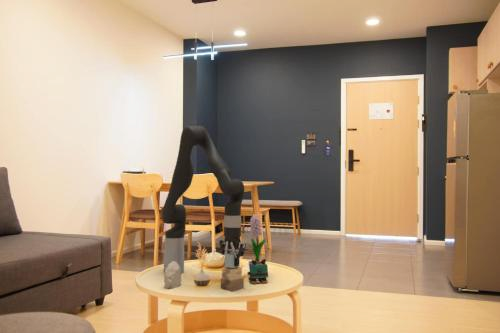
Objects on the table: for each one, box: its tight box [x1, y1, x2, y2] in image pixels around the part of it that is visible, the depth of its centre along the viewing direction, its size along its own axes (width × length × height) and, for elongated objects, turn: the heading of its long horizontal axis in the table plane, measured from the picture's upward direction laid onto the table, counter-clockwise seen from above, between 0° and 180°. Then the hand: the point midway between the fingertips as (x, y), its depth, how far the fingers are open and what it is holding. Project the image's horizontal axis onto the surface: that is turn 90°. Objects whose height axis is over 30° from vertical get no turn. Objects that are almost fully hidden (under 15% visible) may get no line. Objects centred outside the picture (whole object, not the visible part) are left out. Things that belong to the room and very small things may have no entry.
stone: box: [163, 261, 182, 290], centre depth 191 cm, size 9×5×10 cm, turn 151°
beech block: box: [221, 266, 243, 281], centre depth 189 cm, size 6×6×4 cm
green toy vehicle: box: [247, 258, 269, 285], centre depth 200 cm, size 9×11×10 cm
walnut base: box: [220, 277, 245, 292], centre depth 189 cm, size 7×7×4 cm
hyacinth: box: [246, 213, 267, 280], centre depth 208 cm, size 9×10×30 cm
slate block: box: [224, 251, 240, 268], centre depth 189 cm, size 4×4×6 cm
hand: (232, 265), depth 189 cm, fingers closed on slate block, 4 cm apart
